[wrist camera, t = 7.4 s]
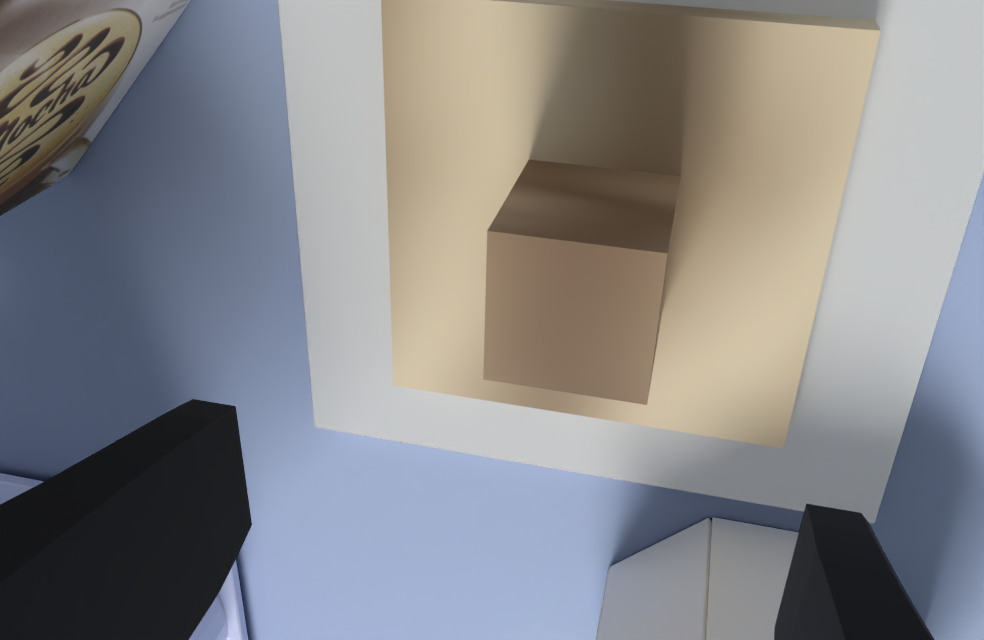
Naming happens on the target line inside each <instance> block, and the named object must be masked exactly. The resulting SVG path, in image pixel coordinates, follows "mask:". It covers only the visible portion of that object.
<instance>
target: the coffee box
mask: <svg viewBox="0 0 984 640" xmlns="http://www.w3.org/2000/svg"><path fill="white" fill-rule="evenodd" d="M190 1H191V0H0V216H1V215H2V214H4V213H6V212H7V211H9V210H11V209H13V208H14V207H16V206H18V205H19V204H21V203H23V202H24V201H26V200H28V199H29V198H31V197H33V196H35V195H36V194H38V193H40V192H41V191H43V190H45V189H47V188H48V187H50V186H52V185H54V184H56V183H58V182H59V181H60V180H62V179H63V178H65V177H66V176H68V175H69V174H70V172H71V171H72V170H73V168H74V167H75V166H76V165H77V163H78V162H79V160H80V159H81V157H82V156H83V155H84V153H85V152H86V150H87V149H88V147H89V146H90V144H91V143H92V141H93V140H94V139H95V137H96V136H97V134H98V133H99V131H100V130H101V129H102V127H103V126H104V124H105V123H106V121H107V120H108V119H109V117H110V116H111V114H112V113H113V111H114V110H115V109H116V107H117V106H118V104H119V103H120V101H121V100H122V99H123V97H124V96H125V94H126V93H127V91H128V90H129V88H130V87H131V86H132V84H133V83H134V81H135V80H136V78H137V77H138V76H139V74H140V73H141V71H142V70H143V68H144V67H145V66H146V64H147V63H148V61H149V60H150V58H151V57H152V55H153V54H154V53H155V51H156V50H157V48H158V47H159V45H160V44H161V43H162V41H163V40H164V38H165V37H166V35H167V34H168V33H169V31H170V30H171V28H172V27H173V25H174V24H175V23H176V21H177V20H178V18H179V17H180V15H181V14H182V12H183V11H184V10H185V8H186V7H187V5H188V4H189V2H190Z"/></svg>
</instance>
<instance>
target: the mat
mask: <svg viewBox="0 0 984 640" xmlns="http://www.w3.org/2000/svg"><path fill="white" fill-rule="evenodd" d="M612 1H625V2H638V3H651V4H664V5H677V6H690V7H703V8H717V9H730V10H743V11H756V12H769V13H782V14H795V15H808V16H822V17H835V18H848V19H861V20H874V21H876V22H877V24H878V26H879V28H880V30H881V32H880V37H879V41H878V45H877V50H876V54H875V58H874V62H873V67H872V71H871V75H870V80H869V84H868V88H867V93H866V97H865V101H864V106H863V110H862V114H861V118H860V123H859V127H858V131H857V136H856V140H855V144H854V149H853V153H852V157H851V161H850V166H849V170H848V174H847V179H846V183H845V187H844V192H843V196H842V200H841V204H840V209H839V213H838V217H837V222H836V226H835V230H834V235H833V239H832V243H831V248H830V252H829V256H828V260H827V265H826V269H825V273H824V278H823V282H822V286H821V291H820V295H819V299H818V303H817V308H816V312H815V316H814V321H813V325H812V329H811V334H810V338H809V342H808V346H807V351H806V355H805V359H804V364H803V368H802V372H801V377H800V381H799V385H798V390H797V394H796V398H795V402H794V407H793V411H792V415H791V420H790V424H789V428H788V433H787V437H786V441H785V445H784V448H779V447H772V446H766V445H760V444H754V443H748V442H741V441H735V440H729V439H723V438H716V437H710V436H704V435H698V434H692V433H685V432H679V431H673V430H667V429H660V428H654V427H648V426H642V425H636V424H629V423H623V422H617V421H611V420H605V419H598V418H592V417H586V416H580V415H573V414H567V413H561V412H555V411H549V410H542V409H536V408H530V407H524V406H517V405H511V404H505V403H499V402H493V401H486V400H480V399H474V398H468V397H462V396H455V395H449V394H443V393H437V392H430V391H424V390H418V389H412V388H406V387H399V386H393V357H392V326H391V295H390V264H389V233H388V202H387V171H386V140H385V109H384V78H383V47H382V16H381V0H278V4H279V15H280V27H281V39H282V50H283V62H284V74H285V86H286V97H287V109H288V121H289V132H290V144H291V156H292V167H293V179H294V191H295V203H296V214H297V226H298V238H299V249H300V261H301V273H302V284H303V296H304V308H305V320H306V331H307V343H308V355H309V366H310V378H311V390H312V401H313V413H314V425H315V427H317V428H322V429H328V430H334V431H340V432H346V433H351V434H357V435H363V436H369V437H375V438H380V439H386V440H392V441H398V442H403V443H409V444H415V445H421V446H427V447H432V448H438V449H444V450H450V451H456V452H461V453H467V454H473V455H479V456H484V457H490V458H496V459H502V460H508V461H513V462H519V463H525V464H531V465H537V466H542V467H548V468H554V469H560V470H565V471H571V472H577V473H583V474H589V475H594V476H600V477H606V478H612V479H618V480H623V481H629V482H635V483H641V484H646V485H652V486H658V487H664V488H670V489H675V490H681V491H687V492H693V493H699V494H704V495H710V496H716V497H722V498H727V499H733V500H739V501H745V502H751V503H756V504H762V505H768V506H774V507H780V508H785V509H791V510H797V511H803V512H804V510H805V506H806V504H812V505H818V506H824V507H830V508H836V509H842V510H848V511H853V512H859V513H862V514H863V516H864V517H865V518H866V520H867V521H868V522H869V523H872V524H875V520H876V517H877V514H878V511H879V508H880V504H881V501H882V498H883V495H884V492H885V488H886V485H887V482H888V479H889V475H890V472H891V469H892V466H893V463H894V459H895V456H896V453H897V450H898V446H899V443H900V440H901V437H902V434H903V430H904V427H905V424H906V421H907V418H908V414H909V411H910V408H911V405H912V401H913V398H914V395H915V392H916V389H917V385H918V382H919V379H920V376H921V372H922V369H923V366H924V363H925V360H926V356H927V353H928V350H929V347H930V344H931V340H932V337H933V334H934V331H935V327H936V324H937V321H938V318H939V315H940V311H941V308H942V305H943V302H944V298H945V295H946V292H947V289H948V286H949V282H950V279H951V276H952V273H953V269H954V266H955V263H956V260H957V257H958V253H959V250H960V247H961V244H962V241H963V237H964V234H965V231H966V228H967V224H968V221H969V218H970V215H971V212H972V208H973V205H974V202H975V199H976V195H977V192H978V189H979V186H980V183H981V179H982V176H983V173H984V0H612Z"/></svg>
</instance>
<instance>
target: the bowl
mask: <svg viewBox="0 0 984 640" xmlns="http://www.w3.org/2000/svg"><path fill="white" fill-rule="evenodd" d="M798 534H799V532H794V531H788V530H782V529H777V528H771V527H765V526H760V525H754V524H748V523H743V522H737V521H731V520H726V519H720V518H714V517H713V518H712V521H711V520H710V519H709V518H707V519H705V520H703V521H701V522H699V523H697V524H695V525H693V526H691V527H689V528H687V529H685V530H683V531H681V532H679V533H677V534H675V535H673V536H671V537H668V538H666V539H664V540H662V541H660V542H658V543H656V544H654V545H652V546H650V547H648V548H646V549H644V550H642V551H640V552H638V553H636V554H634V555H632V556H630V557H628V558H626V559H624V560H622V561H620V562H618V563H616V564H614V565H612V566H610V569H608V575H607V580H606V586H605V591H604V597H603V603H602V608H601V614H600V619H599V625H598V630H597V636H596V640H774V629H775V623H776V619H777V615H778V612H779V608H780V604H781V600H782V596H783V592H784V588H785V584H786V580H787V576H788V573H789V569H790V565H791V561H792V557H793V553H794V549H795V545H796V541H797V538H798Z"/></svg>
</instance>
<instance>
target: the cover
mask: <svg viewBox="0 0 984 640" xmlns="http://www.w3.org/2000/svg"><path fill="white" fill-rule="evenodd" d="M381 16H382V47H383V78H384V109H385V140H386V171H387V202H388V233H389V264H390V295H391V326H392V357H393V386H399V387H406V388H412V389H418V390H424V391H430V392H437V393H443V394H449V395H455V396H462V397H468V398H474V399H480V400H486V401H493V402H499V403H505V404H511V405H517V406H524V407H530V408H536V409H542V410H549V411H555V412H561V413H567V414H573V415H580V416H586V417H592V418H598V419H605V420H611V421H617V422H623V423H629V424H636V425H642V426H648V427H654V428H660V429H667V430H673V431H679V432H685V433H692V434H698V435H704V436H710V437H716V438H723V439H729V440H735V441H741V442H748V443H754V444H760V445H766V446H772V447H779V448H784V445H785V441H786V437H787V433H788V428H789V424H790V420H791V415H792V411H793V407H794V402H795V398H796V394H797V390H798V385H799V381H800V377H801V372H802V368H803V364H804V359H805V355H806V351H807V346H808V342H809V338H810V334H811V329H812V325H813V321H814V316H815V312H816V308H817V303H818V299H819V295H820V291H821V286H822V282H823V278H824V273H825V269H826V265H827V260H828V256H829V252H830V248H831V243H832V239H833V235H834V230H835V226H836V222H837V217H838V213H839V209H840V204H841V200H842V196H843V192H844V187H845V183H846V179H847V174H848V170H849V166H850V161H851V157H852V153H853V149H854V144H855V140H856V136H857V131H858V127H859V123H860V118H861V114H862V110H863V106H864V101H865V97H866V93H867V88H868V84H869V80H870V75H871V71H872V67H873V62H874V58H875V54H876V50H877V45H878V41H879V37H880V32H881V30H880V28H879V26H878V24H877V22H876V21H874V20H861V19H848V18H835V17H822V16H808V15H795V14H782V13H769V12H756V11H743V10H730V9H717V8H703V7H690V6H677V5H664V4H651V3H638V2H625V1H612V0H381Z"/></svg>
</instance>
